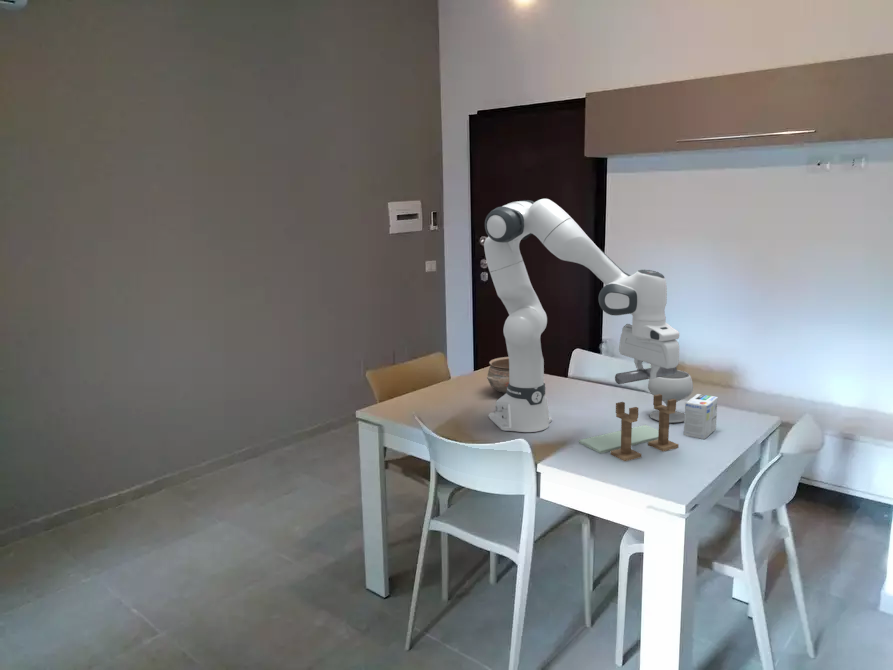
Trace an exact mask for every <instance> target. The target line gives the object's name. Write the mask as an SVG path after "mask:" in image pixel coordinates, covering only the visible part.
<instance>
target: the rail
mask: <svg viewBox="0 0 893 670" xmlns="http://www.w3.org/2000/svg"><path fill="white" fill-rule="evenodd" d="M651 369H652V367H647V368H644V369H641V370H637V369H636V370H629V371H624V372H619V373H616V374H615V375H614V380H615V382H616V384H617V385H622V384H628V383H629V384H630V383H634V382H639V381H645V380H649V379H650V378H648V372H651ZM677 370H678V368H677V366H676V367H675V368H669V369H667V368H663V367H660V368H659V370H658V371H657V373H656V378H657V377H663V376H668V375H674V374H676V372H677Z"/></svg>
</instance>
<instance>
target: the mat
mask: <svg viewBox="0 0 893 670" xmlns="http://www.w3.org/2000/svg"><path fill="white" fill-rule="evenodd" d="M658 432H659V429H658V428H657V429H656V428H654V427H652V426H649V425H647V424H643V425H639V426H635V427H632V435H631V447H632V446H636V445H641V444H644V443H645V444H646V443H648V442H650V441H654V440H658ZM578 443H579V444H580V445H583V446H585V447H587V448H589V449H591V450H593V451H595V452H597V453H599V454H604V453H607V452H611V451H613V450H617V449H621V430H617V431H613V432H608V433H605V434H599V435H595V436H591V437H587V438H582V439H579V440H578Z"/></svg>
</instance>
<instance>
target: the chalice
mask: <svg viewBox="0 0 893 670" xmlns="http://www.w3.org/2000/svg"><path fill="white" fill-rule="evenodd" d="M693 384H694V383H693V379H692V376H691V374H689V373H688V372H687V371H685V370H679V369H677V372H676V374H674V375H668V376H663V377H657V378H656V379H648V384H647V385H648V386H647V388H648V391H649V393H650V394H651V395H652V396H654V395H657V394H661V395H662V403H664V405H665V406H667V400H670V399H676V403H677V402H680V401H682V400H684V399H687V398H688V397H690V396H691V394H692V393H693V391H694V385H693ZM649 416H650V418H651V419H653V420H655V421H658V422H659V410H655V411H653V412H651V413H650V415H649ZM684 420H685V412H680V411H678V410H675V413H672V414H669V424H670V423H672V424H673V423H677V424H679V423H682V422H683V423H684Z"/></svg>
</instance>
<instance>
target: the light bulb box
mask: <svg viewBox="0 0 893 670" xmlns="http://www.w3.org/2000/svg"><path fill="white" fill-rule="evenodd" d="M718 398H719V397H718V396H713V395H706V394H701V393H696V394H695V395H694V396H692V397H691V398H689V400H687V401H685V402H684V414H685V420H684V422H683V423H684V425H683V426H684V427H683V436H686V437H690V438H691V437H692V438H696V439H702V440H706V439H707V438H708V436H710V435H711V434H712V433H713V432H715V431H716V430H717V416H718V401H719V400H718Z"/></svg>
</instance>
